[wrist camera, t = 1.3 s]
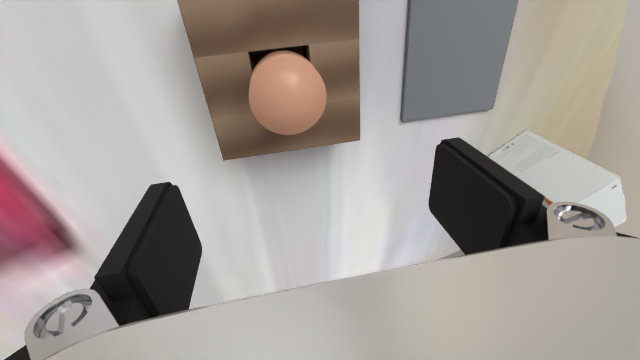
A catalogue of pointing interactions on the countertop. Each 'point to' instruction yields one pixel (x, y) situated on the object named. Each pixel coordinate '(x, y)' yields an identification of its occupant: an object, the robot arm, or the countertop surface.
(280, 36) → the socket block
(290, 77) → the plug
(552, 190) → the small box
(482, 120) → the countertop surface
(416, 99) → the mat
